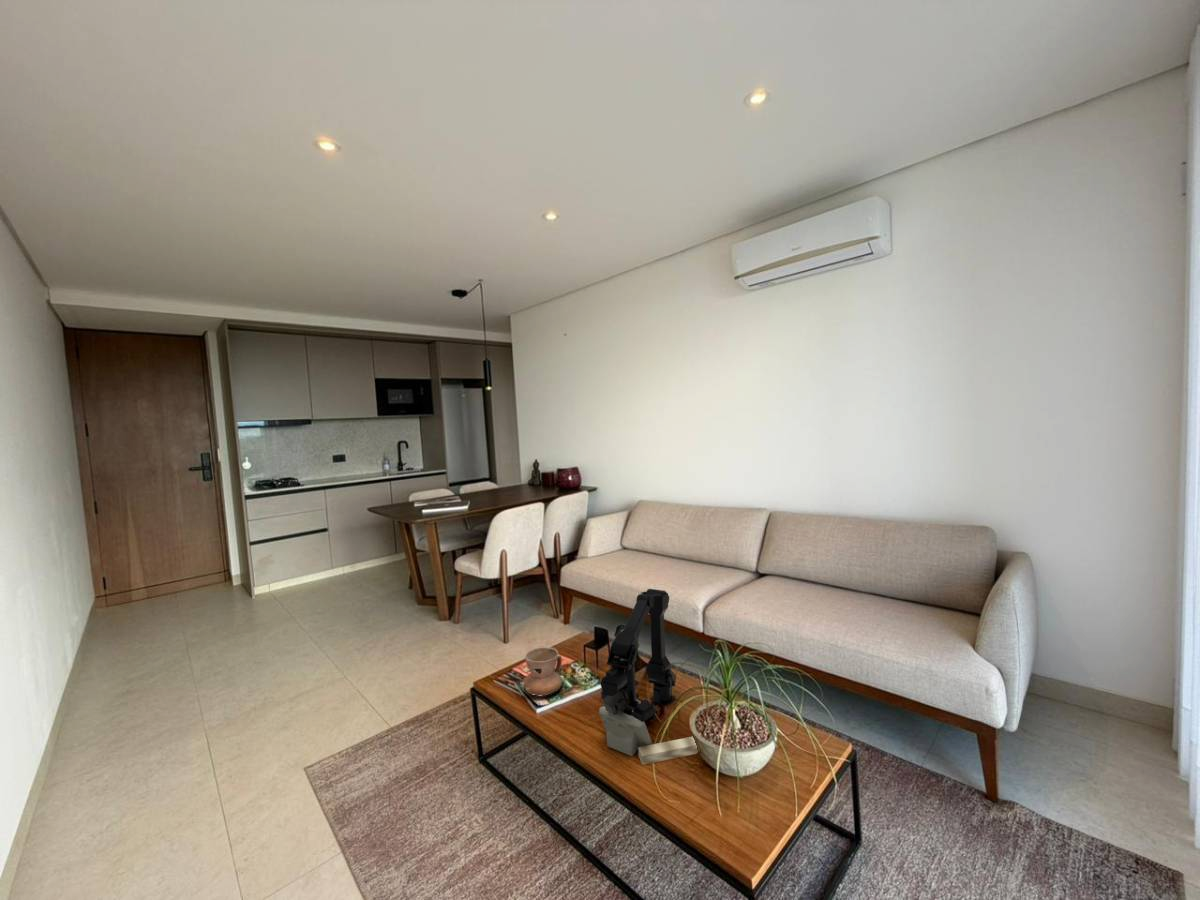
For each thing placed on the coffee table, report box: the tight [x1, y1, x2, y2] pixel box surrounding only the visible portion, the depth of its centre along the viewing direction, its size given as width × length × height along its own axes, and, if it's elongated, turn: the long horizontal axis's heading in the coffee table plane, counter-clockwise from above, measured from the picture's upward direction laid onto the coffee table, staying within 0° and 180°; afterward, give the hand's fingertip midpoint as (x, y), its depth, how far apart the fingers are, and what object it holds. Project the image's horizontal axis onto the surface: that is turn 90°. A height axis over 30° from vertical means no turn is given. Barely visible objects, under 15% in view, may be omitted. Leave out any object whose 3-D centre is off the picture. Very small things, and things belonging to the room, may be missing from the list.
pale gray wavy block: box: [637, 736, 699, 766], centre depth 145 cm, size 18×4×3 cm, turn 102°
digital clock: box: [598, 706, 653, 757], centre depth 150 cm, size 16×9×11 cm, turn 44°
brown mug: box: [522, 646, 563, 695], centre depth 185 cm, size 18×14×14 cm
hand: (629, 727), depth 153 cm, fingers closed
